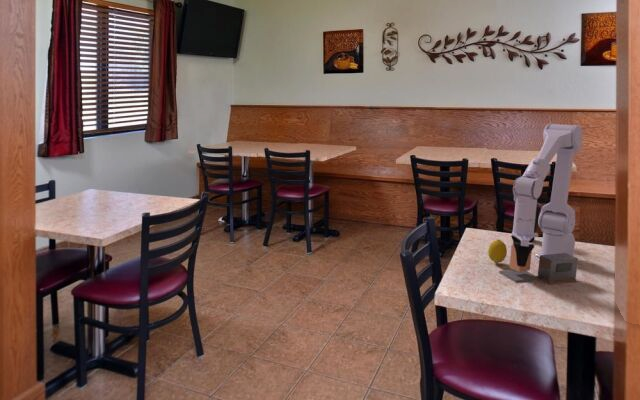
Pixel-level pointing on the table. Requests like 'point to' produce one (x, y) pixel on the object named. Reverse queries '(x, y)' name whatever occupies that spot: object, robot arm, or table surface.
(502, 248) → the lemon
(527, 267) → the terracotta block
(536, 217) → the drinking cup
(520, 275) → the mat
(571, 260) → the parts unit
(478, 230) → the table surface
